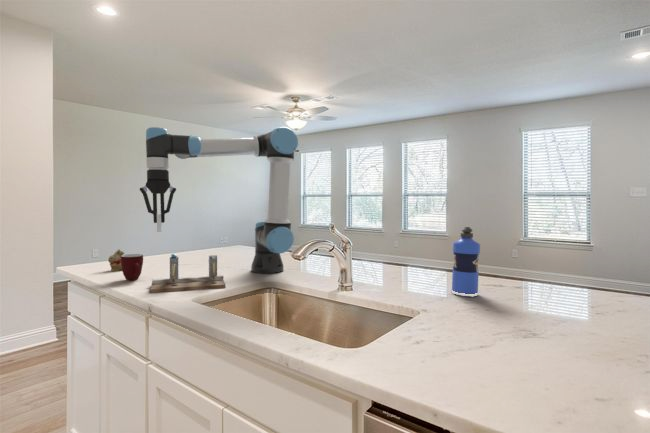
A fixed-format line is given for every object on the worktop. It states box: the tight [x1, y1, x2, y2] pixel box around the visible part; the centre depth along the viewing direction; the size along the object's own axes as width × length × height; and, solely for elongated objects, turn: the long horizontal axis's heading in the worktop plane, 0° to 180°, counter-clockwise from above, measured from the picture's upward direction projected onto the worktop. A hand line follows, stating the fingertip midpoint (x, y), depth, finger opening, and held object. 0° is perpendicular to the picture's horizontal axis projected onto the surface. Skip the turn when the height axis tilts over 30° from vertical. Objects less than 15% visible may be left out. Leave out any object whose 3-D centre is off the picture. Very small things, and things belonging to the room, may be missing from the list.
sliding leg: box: [169, 253, 179, 281], centre depth 137 cm, size 3×8×9 cm, turn 21°
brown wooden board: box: [149, 275, 226, 294], centre depth 139 cm, size 26×12×3 cm, turn 111°
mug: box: [121, 253, 144, 282], centre depth 147 cm, size 11×8×10 cm
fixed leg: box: [208, 254, 218, 279], centre depth 143 cm, size 3×8×8 cm, turn 21°
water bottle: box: [451, 226, 481, 294], centre depth 134 cm, size 9×9×25 cm
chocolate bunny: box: [108, 248, 125, 272], centre depth 167 cm, size 6×8×10 cm
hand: (159, 231), depth 139 cm, fingers closed
